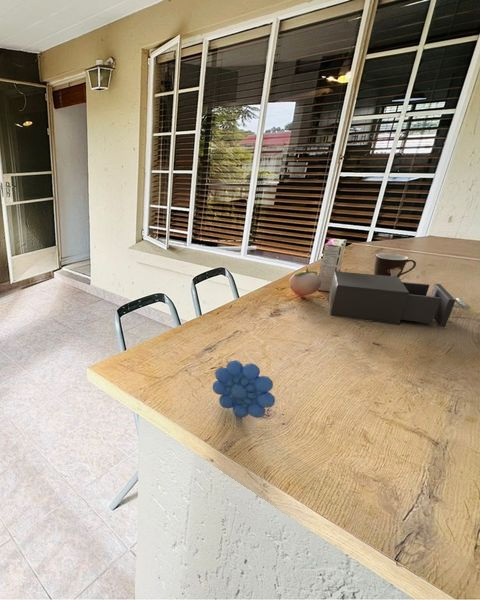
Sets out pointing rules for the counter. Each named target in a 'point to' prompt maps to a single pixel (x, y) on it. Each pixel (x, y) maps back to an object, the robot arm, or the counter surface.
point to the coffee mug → (391, 265)
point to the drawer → (430, 304)
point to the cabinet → (367, 297)
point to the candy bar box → (331, 262)
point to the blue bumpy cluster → (243, 389)
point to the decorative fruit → (305, 282)
